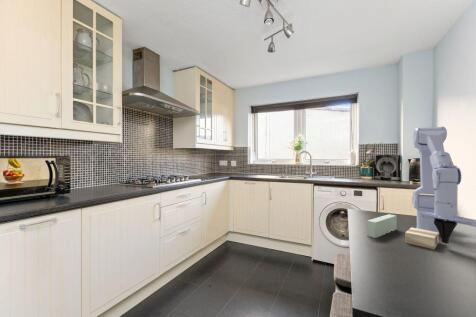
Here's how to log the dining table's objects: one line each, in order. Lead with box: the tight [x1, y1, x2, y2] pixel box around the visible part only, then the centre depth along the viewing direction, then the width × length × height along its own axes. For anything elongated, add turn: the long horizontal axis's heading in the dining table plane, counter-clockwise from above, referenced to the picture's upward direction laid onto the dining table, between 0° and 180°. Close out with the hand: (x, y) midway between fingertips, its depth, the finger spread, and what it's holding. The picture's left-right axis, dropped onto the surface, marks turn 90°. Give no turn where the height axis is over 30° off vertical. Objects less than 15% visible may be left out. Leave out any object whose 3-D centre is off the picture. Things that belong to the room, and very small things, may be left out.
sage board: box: [366, 213, 398, 239], centre depth 91 cm, size 20×3×6 cm, turn 125°
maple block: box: [404, 226, 440, 250], centre depth 81 cm, size 10×8×4 cm
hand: (445, 242), depth 76 cm, fingers closed
